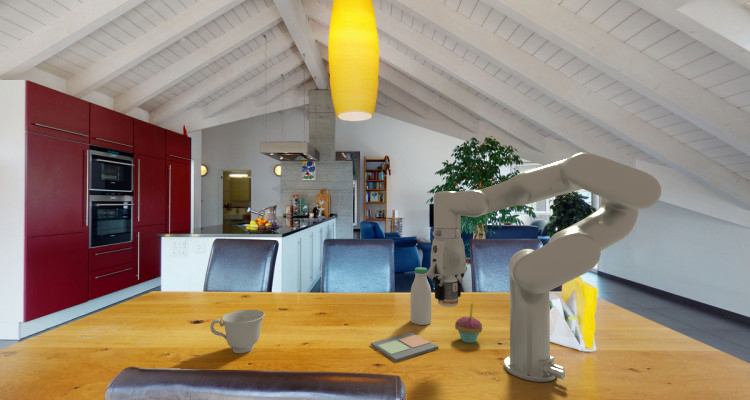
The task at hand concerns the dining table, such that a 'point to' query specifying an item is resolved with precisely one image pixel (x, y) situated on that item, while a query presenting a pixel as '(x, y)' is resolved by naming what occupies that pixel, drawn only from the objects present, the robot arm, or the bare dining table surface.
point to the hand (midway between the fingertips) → (447, 297)
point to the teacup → (240, 329)
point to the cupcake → (468, 328)
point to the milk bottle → (420, 298)
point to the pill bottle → (450, 291)
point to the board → (403, 346)
